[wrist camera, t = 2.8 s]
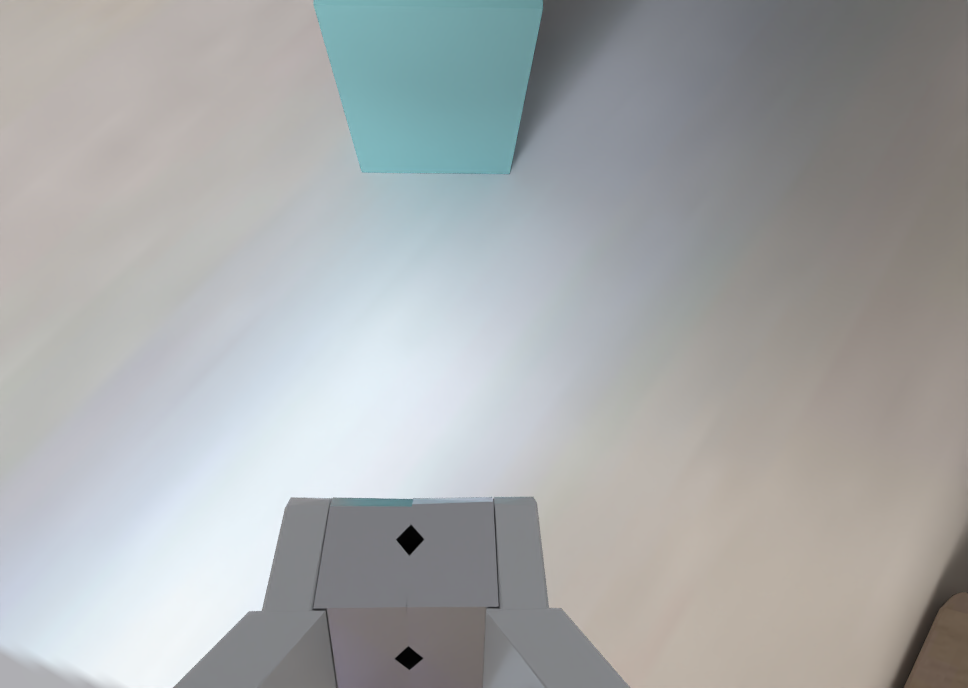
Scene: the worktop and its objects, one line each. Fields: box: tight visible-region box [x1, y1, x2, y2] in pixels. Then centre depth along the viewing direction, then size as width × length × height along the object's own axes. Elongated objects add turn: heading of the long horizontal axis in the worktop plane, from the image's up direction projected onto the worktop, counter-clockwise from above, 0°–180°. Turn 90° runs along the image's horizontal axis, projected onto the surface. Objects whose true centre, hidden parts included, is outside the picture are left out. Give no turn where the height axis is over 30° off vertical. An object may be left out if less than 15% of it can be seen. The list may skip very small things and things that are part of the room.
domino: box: [314, 0, 543, 174], centre depth 23 cm, size 2×5×10 cm, turn 90°
